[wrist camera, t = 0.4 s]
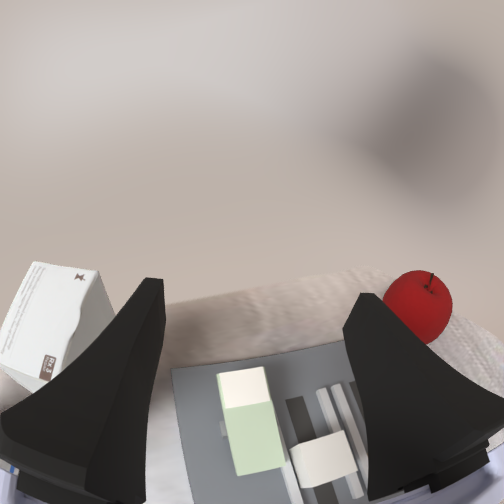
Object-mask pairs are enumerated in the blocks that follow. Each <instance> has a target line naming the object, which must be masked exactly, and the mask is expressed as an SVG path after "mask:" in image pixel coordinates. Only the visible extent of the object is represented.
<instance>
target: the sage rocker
mask: <svg viewBox="0 0 504 504" xmlns="http://www.w3.org/2000/svg"><path fill="white" fill-rule="evenodd" d="M216 377H217V383H218V388H219V394H220V399H221V404H222V410H223V415H224V420H225V425H226V430H227V434H228V439H229V444H230V448H231V453H232V457H233V462H234V466H235V471H236V474H237V476H242V475H247V474H252V473H257V472H262V471H266V470H271V469H275V468H279V467H283V466H286V462H285V458H284V453H283V449H282V444H281V440H280V435H279V431H278V426H277V422H276V417H275V413H274V408H273V404H272V399H271V395H270V390H269V385H268V381H267V376H266V372H265V367H263V366H262V367H257V368H251V369H244V370H238V371H231V372H224V373H219V374H217V375H216Z"/></svg>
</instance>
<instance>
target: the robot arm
mask: <svg viewBox="0 0 504 504" xmlns="http://www.w3.org/2000/svg"><path fill="white" fill-rule="evenodd" d="M165 323H166V314H165V301H164V284H163V279H157V278H145V279H144V280H143V281H142V282H141V284H140V285H139V286H138V288H137V289H136V291H135V292H134V293H133V295H132V296H131V297H130V299H129V300H128V301H127V302H126V304H125V305H124V306H123V308H122V309H121V310H120V311H119V312H118V314H117V315H116V316H115V317H114V319H113V320H112V321H111V322H110V323H109V324H108V326H107V327H106V328H105V329H104V330H103V331H102V332H101V333H100V335H99V336H98V337H97V338H96V339H95V340H94V341H93V342H92V343H91V344H90V345H89V346H88V347H87V348H86V349H85V350H84V351H83V352H82V353H81V354H80V355H79V356H78V357H77V358H76V359H75V360H74V361H73V362H72V363H71V364H70V365H68V366H67V367H66V368H65V369H64V370H63V371H62V372H60V373H59V374H58V375H57V376H56V377H54V378H53V379H52V380H51V381H49V382H48V383H46V384H45V385H44V386H42V387H41V388H40V389H38V390H37V391H36V392H34V393H33V394H32V395H30V396H29V397H27V398H26V399H24V400H22V401H21V402H19V403H17V404H16V405H14V406H13V407H11V408H9V409H8V410H6V411H4V412H2V413H1V415H0V459H2V460H4V461H5V462H7V463H9V464H10V465H12V466H14V467H15V468H17V469H19V470H20V471H19V476H17V475H15V474H13V473H11V472H9V471H7V470H5V469H3V468H1V467H0V504H143V503H144V502H145V501H146V486H145V461H146V437H147V423H148V412H149V404H150V398H151V393H152V389H153V384H154V380H155V375H156V371H157V367H158V362H159V358H160V354H161V350H162V346H163V338H164V331H165ZM343 335H344V341H345V347H346V352H347V355H348V359H349V362H350V365H351V369H352V372H353V375H354V378H355V382H356V385H357V388H358V391H359V395H360V398H361V402H362V407H363V412H364V419H365V425H366V434H367V444H368V488H367V495H368V500H369V502H370V501H374V500H377V499H380V498H383V497H386V496H389V495H392V494H395V493H398V492H401V491H404V493H405V494H403V495H400V496H397V497H394V498H391V499H388V500H385V501H382V502H379V503H376V504H499V503H500V501H501V500H503V499H504V442H503V443H502V444H500V445H499V446H497V447H496V448H494V449H492V450H491V451H489V452H488V453H487V452H486V449H485V448H487V447H488V446H489V441H488V439H489V438H490V437H491V436H493V435H494V434H496V433H497V432H498V431H500V430H501V429H502V428H504V398H502V397H500V396H498V395H496V394H494V393H492V392H490V391H488V390H486V389H484V388H482V387H481V386H479V385H477V384H476V383H474V382H472V381H471V380H469V379H468V378H466V377H465V376H464V375H462V374H461V373H459V372H458V371H456V370H455V369H454V368H452V367H451V366H450V365H449V364H447V363H446V362H445V361H444V360H443V359H441V358H440V357H439V356H438V355H437V354H435V353H434V352H433V351H432V350H431V349H430V348H429V347H428V346H427V345H426V344H425V343H423V342H422V341H421V340H420V339H419V338H418V337H417V336H416V335H415V334H414V333H413V332H412V331H411V330H410V329H409V328H408V327H407V326H406V325H405V324H404V323H403V322H402V321H401V319H400V318H399V317H398V316H397V315H396V314H395V313H394V312H393V311H392V310H391V309H390V308H389V307H388V306H387V305H386V304H385V303H384V302H383V301H382V300H381V299H380V298H378V297H377V296H376V295H375V294H374V293H360V295H359V297H358V299H357V301H356V303H355V305H354V307H353V309H352V311H351V313H350V315H349V317H348V319H347V321H346V323H345V325H344V327H343Z"/></svg>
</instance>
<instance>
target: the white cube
mask: <svg viewBox="0 0 504 504" xmlns="http://www.w3.org/2000/svg"><path fill="white" fill-rule="evenodd" d="M289 453H290V457H291V460H292V463H293V466H294V470H295V473H296V476H297V479H298V483H299V486H300V488H312V487H315V486H318V485H321V484H324V483H327V482H330V481H333V480H335V479H338V478H341V477H343V476H346V475H348V474H351V473H353V472H355V471H358V469H357V466H356V463H355V461H354V458H353V455H352V452H351V449H350V446H349V444H348V441H347V438H346V435H345V433H344V430H342V431H339V432H336V433H333V434H330V435H327V436H324V437H321V438H318V439H314V440H311V441H308V442H304V443H301V444H298V445H296V446H294V447H293V448H291V449H289Z"/></svg>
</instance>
